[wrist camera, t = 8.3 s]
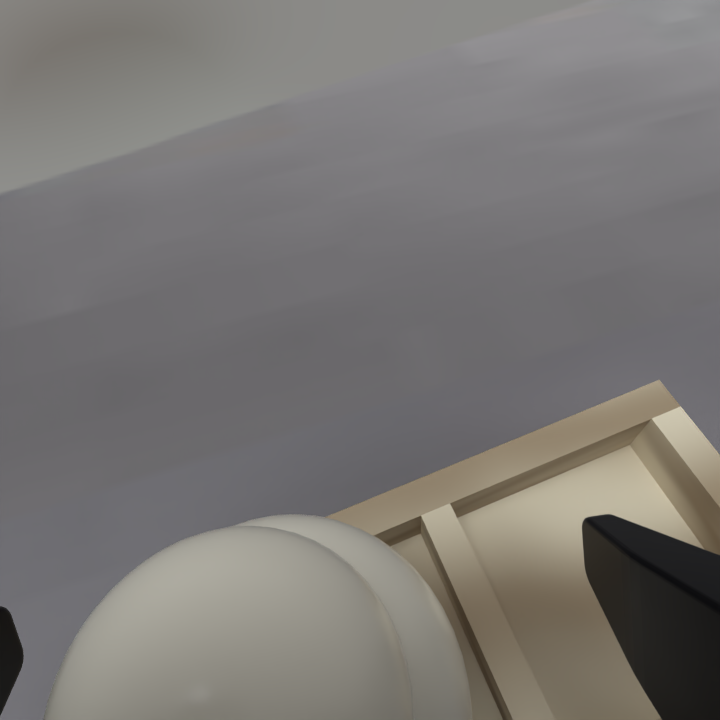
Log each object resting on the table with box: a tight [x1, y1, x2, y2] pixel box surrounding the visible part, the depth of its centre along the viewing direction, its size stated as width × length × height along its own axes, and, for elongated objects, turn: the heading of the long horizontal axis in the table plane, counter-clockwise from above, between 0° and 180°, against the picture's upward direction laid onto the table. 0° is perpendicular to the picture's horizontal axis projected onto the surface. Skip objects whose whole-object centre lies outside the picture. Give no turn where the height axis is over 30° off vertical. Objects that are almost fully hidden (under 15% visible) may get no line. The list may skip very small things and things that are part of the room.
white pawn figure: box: [43, 514, 472, 720], centre depth 9 cm, size 5×5×13 cm
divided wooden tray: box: [324, 380, 720, 720], centre depth 15 cm, size 9×17×3 cm, turn 111°
